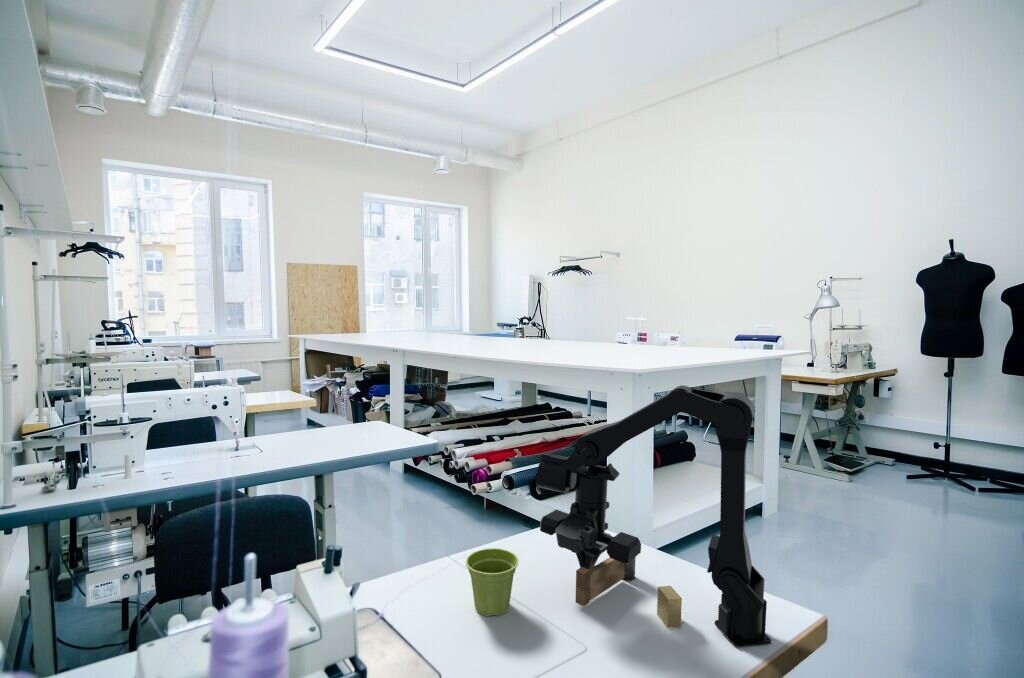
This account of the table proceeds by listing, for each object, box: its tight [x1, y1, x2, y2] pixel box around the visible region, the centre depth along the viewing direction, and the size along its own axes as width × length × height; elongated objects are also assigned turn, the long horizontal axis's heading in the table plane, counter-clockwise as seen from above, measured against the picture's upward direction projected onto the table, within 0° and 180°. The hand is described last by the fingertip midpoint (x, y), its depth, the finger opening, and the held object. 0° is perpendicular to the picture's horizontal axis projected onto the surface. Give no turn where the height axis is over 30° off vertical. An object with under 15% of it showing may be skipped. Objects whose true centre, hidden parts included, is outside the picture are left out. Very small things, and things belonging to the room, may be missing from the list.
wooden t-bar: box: [575, 556, 625, 607], centre depth 99 cm, size 14×2×6 cm, turn 135°
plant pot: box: [465, 547, 520, 617], centre depth 94 cm, size 9×9×9 cm
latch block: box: [656, 585, 683, 629], centre depth 91 cm, size 2×4×5 cm, turn 10°
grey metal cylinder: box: [621, 557, 636, 582], centre depth 105 cm, size 3×3×6 cm
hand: (586, 577), depth 100 cm, fingers closed
